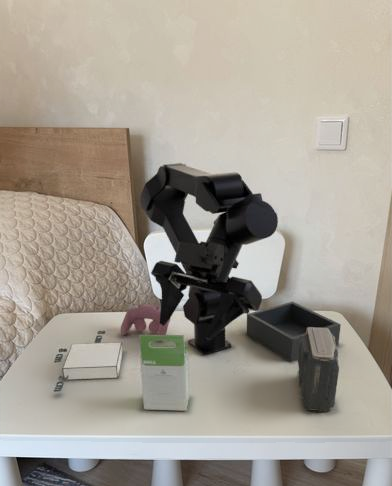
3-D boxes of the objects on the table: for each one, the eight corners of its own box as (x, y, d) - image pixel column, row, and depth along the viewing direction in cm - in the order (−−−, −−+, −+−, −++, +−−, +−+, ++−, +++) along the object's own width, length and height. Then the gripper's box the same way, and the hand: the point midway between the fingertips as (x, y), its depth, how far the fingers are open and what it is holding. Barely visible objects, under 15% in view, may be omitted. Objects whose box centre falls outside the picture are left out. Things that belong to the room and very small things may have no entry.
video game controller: (170, 341, 108) (174, 307, 108) (162, 340, 104) (166, 305, 104) (127, 335, 111) (131, 302, 111) (117, 334, 107) (122, 300, 107)
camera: (335, 414, 80) (342, 357, 76) (298, 412, 81) (302, 356, 77) (329, 377, 91) (334, 325, 86) (295, 375, 91) (299, 324, 87)
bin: (246, 334, 107) (246, 313, 105) (291, 321, 112) (292, 301, 110) (291, 361, 96) (292, 339, 94) (338, 345, 101) (340, 324, 99)
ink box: (189, 398, 85) (187, 324, 80) (187, 412, 82) (184, 335, 76) (148, 396, 86) (142, 323, 80) (143, 410, 83) (137, 334, 77)
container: (114, 394, 87) (113, 380, 86) (46, 397, 87) (43, 383, 86) (125, 341, 105) (124, 329, 104) (68, 343, 105) (66, 331, 104)
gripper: (155, 212, 84) (113, 297, 81) (255, 228, 74) (211, 325, 71) (185, 248, 93) (149, 325, 90) (278, 266, 83) (240, 354, 80)
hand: (183, 331), depth 82 cm, fingers open, 9 cm apart
